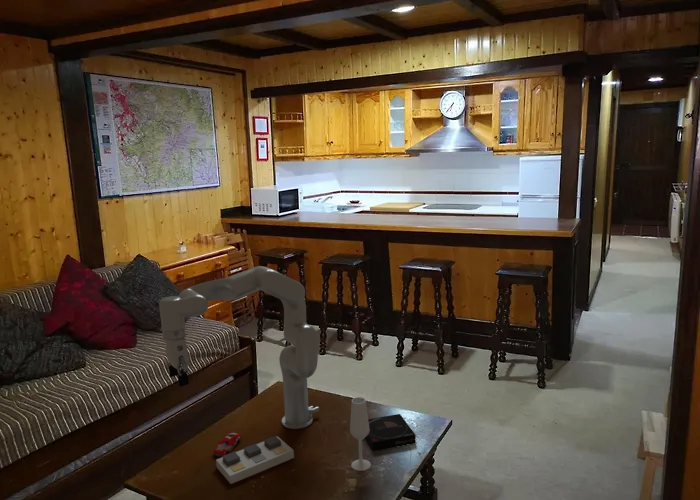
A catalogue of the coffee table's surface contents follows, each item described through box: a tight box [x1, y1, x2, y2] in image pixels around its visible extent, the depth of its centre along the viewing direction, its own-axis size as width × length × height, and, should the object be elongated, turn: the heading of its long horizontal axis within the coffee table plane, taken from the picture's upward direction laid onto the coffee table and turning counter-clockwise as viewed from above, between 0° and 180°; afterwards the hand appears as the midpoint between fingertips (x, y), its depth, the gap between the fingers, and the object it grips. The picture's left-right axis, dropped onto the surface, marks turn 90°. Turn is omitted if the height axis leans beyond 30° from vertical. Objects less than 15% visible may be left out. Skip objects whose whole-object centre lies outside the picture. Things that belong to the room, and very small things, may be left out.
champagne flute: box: [349, 396, 372, 472], centre depth 182 cm, size 7×7×24 cm
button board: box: [215, 435, 295, 485], centre depth 188 cm, size 24×12×3 cm, turn 126°
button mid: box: [243, 443, 261, 458], centre depth 189 cm, size 4×4×3 cm
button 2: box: [263, 436, 281, 450], centre depth 194 cm, size 4×4×3 cm
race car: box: [213, 432, 242, 458], centre depth 198 cm, size 13×5×4 cm, turn 159°
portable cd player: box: [364, 413, 417, 452], centre depth 202 cm, size 16×17×4 cm
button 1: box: [223, 451, 240, 466], centre depth 185 cm, size 4×4×3 cm
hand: (179, 380), depth 184 cm, fingers open, 9 cm apart
